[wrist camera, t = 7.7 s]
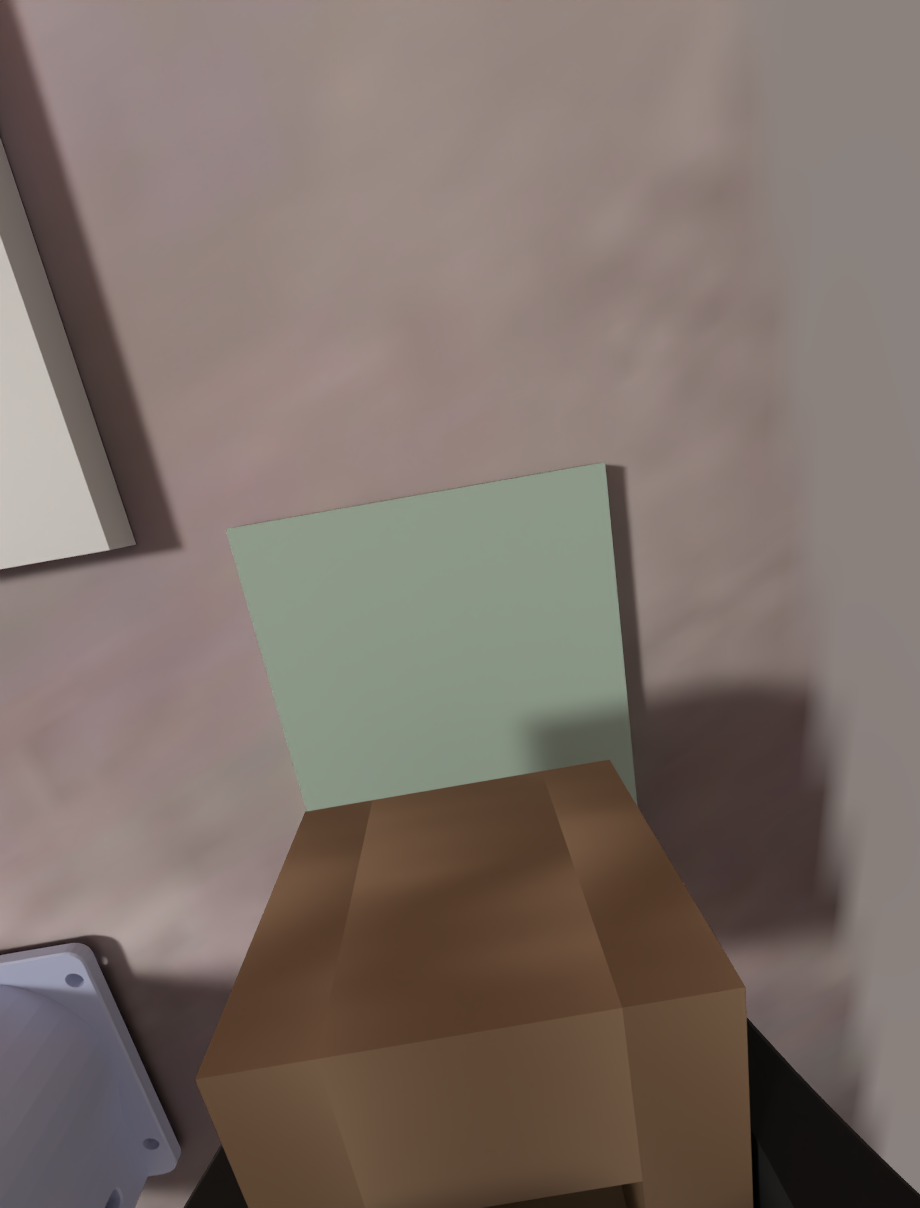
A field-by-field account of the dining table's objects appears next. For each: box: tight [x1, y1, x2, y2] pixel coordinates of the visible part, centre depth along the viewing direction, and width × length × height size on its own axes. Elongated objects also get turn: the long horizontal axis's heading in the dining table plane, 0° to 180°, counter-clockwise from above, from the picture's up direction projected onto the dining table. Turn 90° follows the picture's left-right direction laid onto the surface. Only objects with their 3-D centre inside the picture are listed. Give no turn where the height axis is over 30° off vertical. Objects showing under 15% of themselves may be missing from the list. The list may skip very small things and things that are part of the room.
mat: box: [226, 462, 638, 811], centre depth 14 cm, size 18×9×1 cm, turn 10°
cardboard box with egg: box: [195, 760, 753, 1208], centre depth 8 cm, size 5×8×4 cm
